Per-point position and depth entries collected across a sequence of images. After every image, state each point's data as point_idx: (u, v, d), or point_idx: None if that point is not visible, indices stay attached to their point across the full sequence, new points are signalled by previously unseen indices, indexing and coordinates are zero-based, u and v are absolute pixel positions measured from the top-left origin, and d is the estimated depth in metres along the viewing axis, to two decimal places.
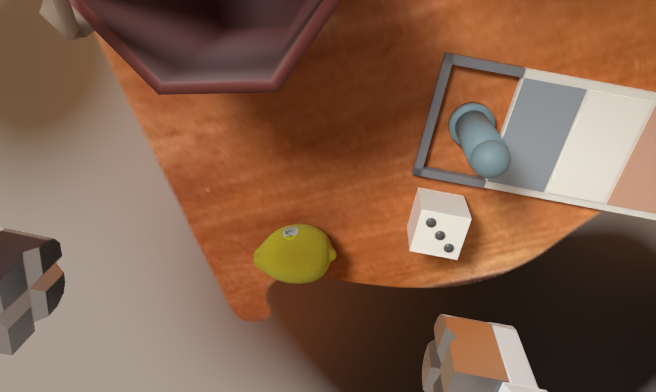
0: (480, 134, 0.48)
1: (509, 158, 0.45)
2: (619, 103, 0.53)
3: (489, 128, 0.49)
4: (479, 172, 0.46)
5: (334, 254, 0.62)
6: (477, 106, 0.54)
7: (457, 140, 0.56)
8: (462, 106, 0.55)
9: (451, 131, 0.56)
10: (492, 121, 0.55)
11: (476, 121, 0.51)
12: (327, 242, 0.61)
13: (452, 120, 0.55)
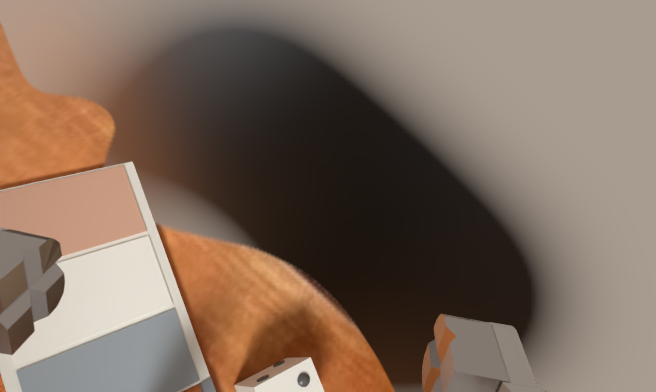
0: None
1: None
2: None
3: None
4: None
5: None
6: None
7: None
8: None
9: None
10: None
11: None
12: None
13: None
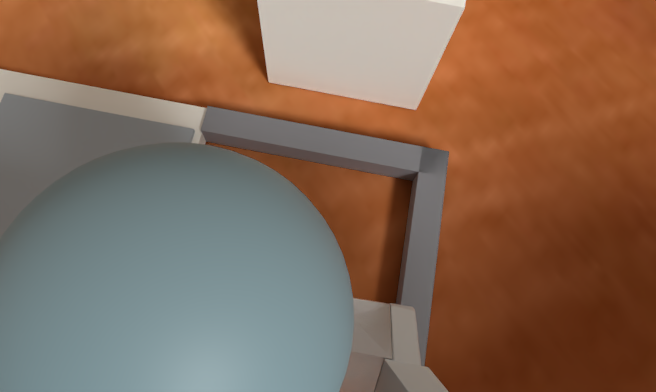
0: None
1: None
2: None
3: None
4: (286, 203, 0.04)
5: None
6: None
7: None
8: None
9: None
10: None
11: None
12: None
13: None
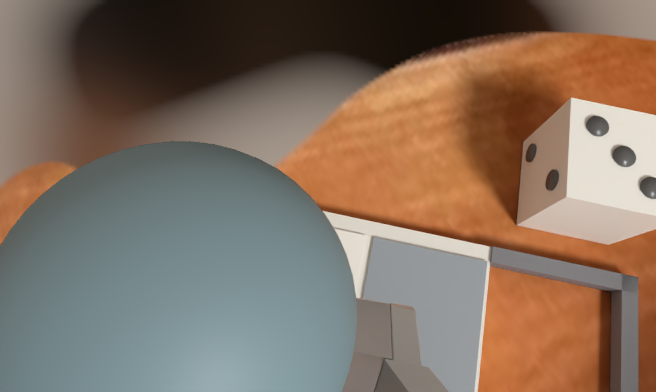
0: None
1: None
2: None
3: None
4: (290, 201, 0.05)
5: None
6: None
7: None
8: None
9: None
10: None
11: None
12: None
13: None
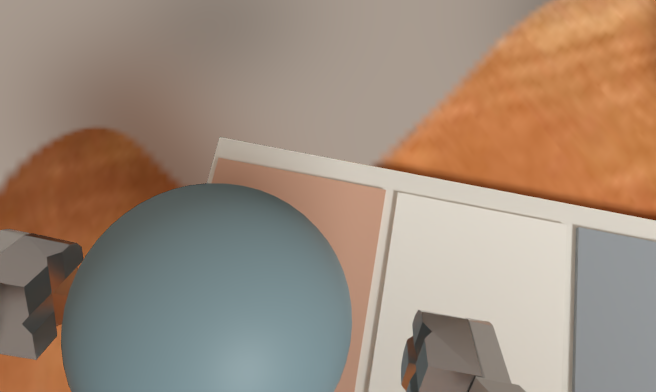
0: None
1: (66, 360, 0.05)
2: None
3: None
4: (301, 233, 0.06)
5: None
6: None
7: None
8: None
9: None
10: None
11: None
12: None
13: None
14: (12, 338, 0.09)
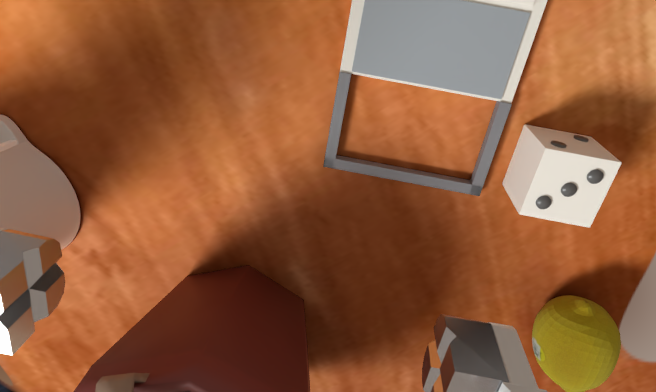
0: None
1: None
2: None
3: None
4: None
5: (582, 305, 0.45)
6: None
7: None
8: None
9: None
10: None
11: None
12: (562, 309, 0.46)
13: None
14: None
